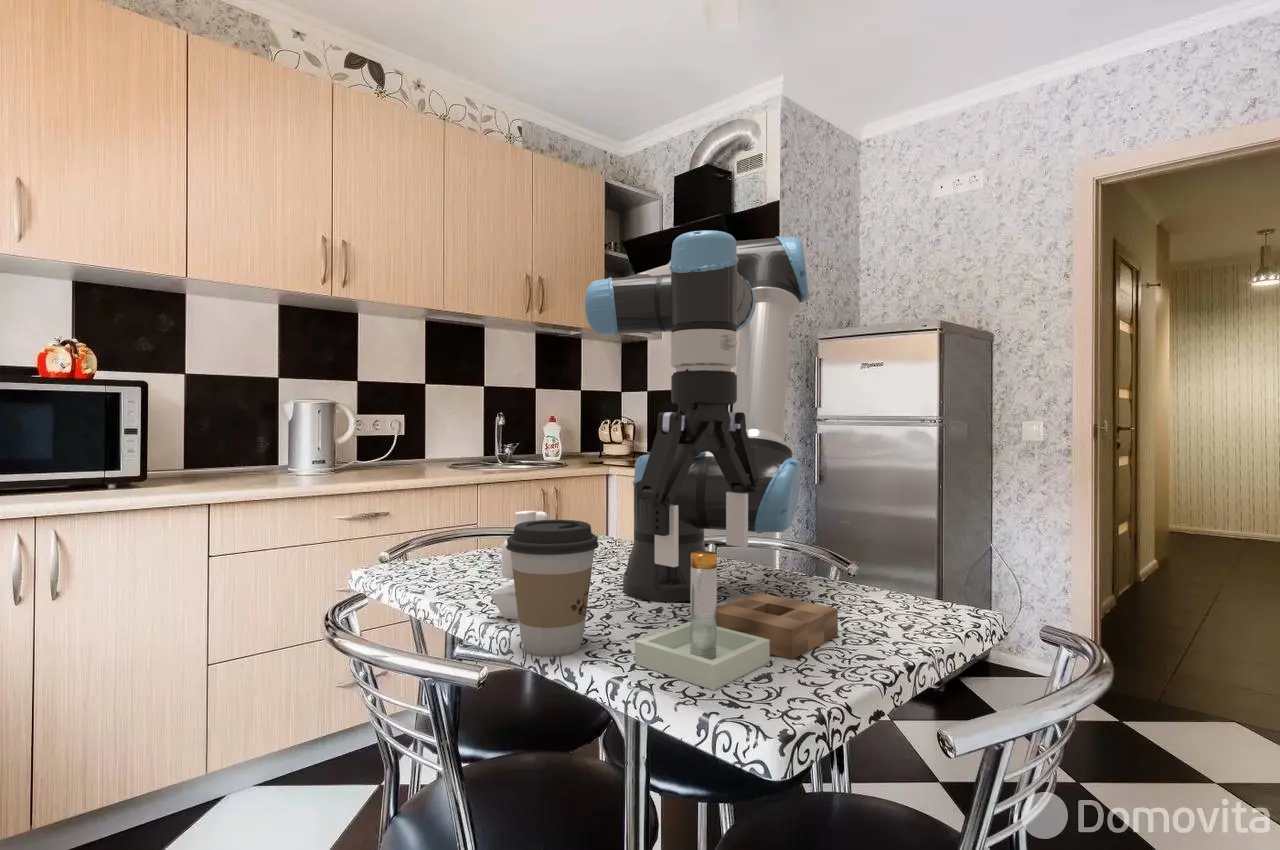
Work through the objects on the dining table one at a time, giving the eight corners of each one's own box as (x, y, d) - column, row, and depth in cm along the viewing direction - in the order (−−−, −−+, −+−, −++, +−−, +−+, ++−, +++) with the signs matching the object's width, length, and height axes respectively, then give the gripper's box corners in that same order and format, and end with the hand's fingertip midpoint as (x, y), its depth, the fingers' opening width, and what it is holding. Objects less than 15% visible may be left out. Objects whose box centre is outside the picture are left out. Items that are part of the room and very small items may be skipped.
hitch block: (708, 637, 85) (708, 610, 85) (758, 617, 94) (758, 592, 94) (792, 659, 77) (792, 629, 77) (837, 635, 86) (837, 608, 86)
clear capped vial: (684, 658, 75) (685, 553, 75) (700, 651, 77) (701, 549, 77) (706, 664, 73) (706, 557, 73) (721, 657, 75) (722, 553, 75)
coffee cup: (586, 666, 74) (586, 533, 74) (490, 660, 76) (491, 530, 76) (607, 634, 85) (607, 519, 85) (523, 629, 87) (524, 517, 87)
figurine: (484, 621, 91) (484, 513, 91) (522, 604, 100) (522, 505, 100) (528, 627, 88) (529, 516, 88) (563, 609, 97) (564, 508, 97)
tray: (635, 664, 75) (635, 641, 75) (693, 640, 83) (693, 620, 83) (713, 690, 68) (713, 665, 68) (769, 662, 76) (769, 639, 76)
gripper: (658, 362, 64) (658, 580, 64) (787, 373, 82) (787, 542, 83) (603, 366, 69) (604, 568, 69) (737, 376, 87) (737, 535, 88)
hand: (704, 554), depth 76 cm, fingers open, 13 cm apart
